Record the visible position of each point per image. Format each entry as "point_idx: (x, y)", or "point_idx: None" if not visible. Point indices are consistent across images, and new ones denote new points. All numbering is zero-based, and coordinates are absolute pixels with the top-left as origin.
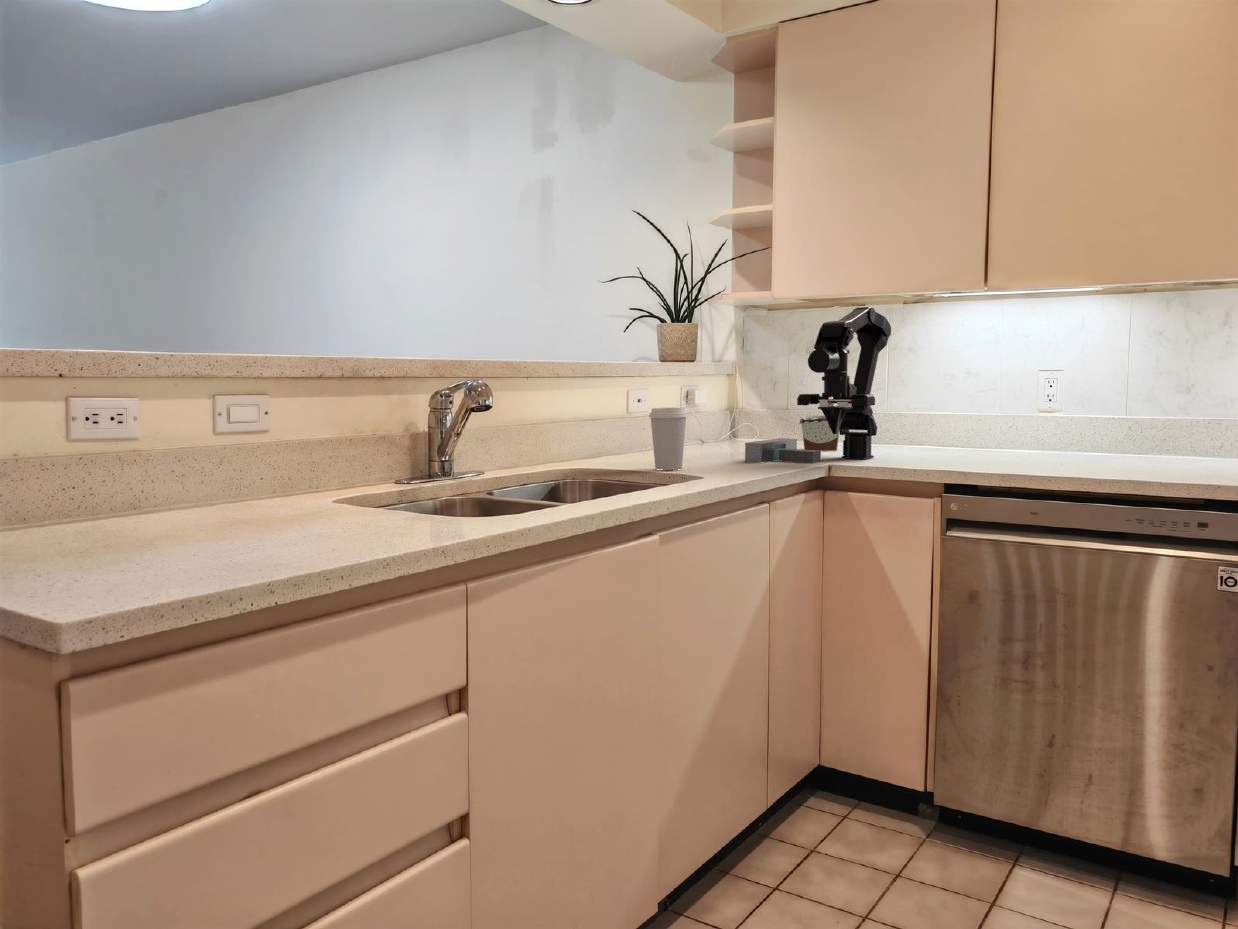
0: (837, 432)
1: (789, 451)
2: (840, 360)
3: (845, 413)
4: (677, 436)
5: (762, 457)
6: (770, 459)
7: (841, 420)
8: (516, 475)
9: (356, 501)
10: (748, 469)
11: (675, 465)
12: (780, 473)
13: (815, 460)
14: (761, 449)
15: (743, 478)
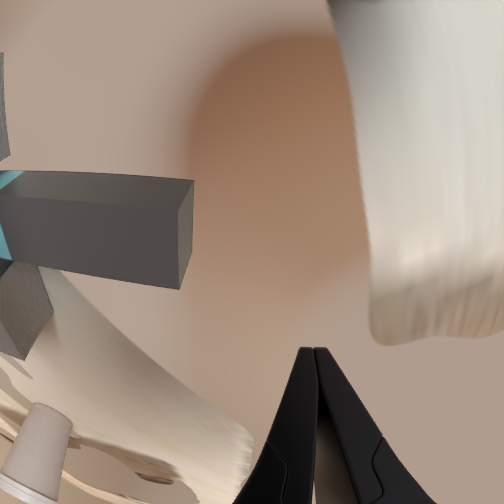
0: (329, 360)
1: (55, 265)
2: None
3: (431, 500)
4: (61, 474)
5: (43, 319)
6: (32, 268)
7: (379, 449)
8: None
9: (98, 488)
10: (141, 410)
11: (70, 431)
12: (241, 436)
13: (190, 237)
14: (32, 344)
15: (220, 464)
